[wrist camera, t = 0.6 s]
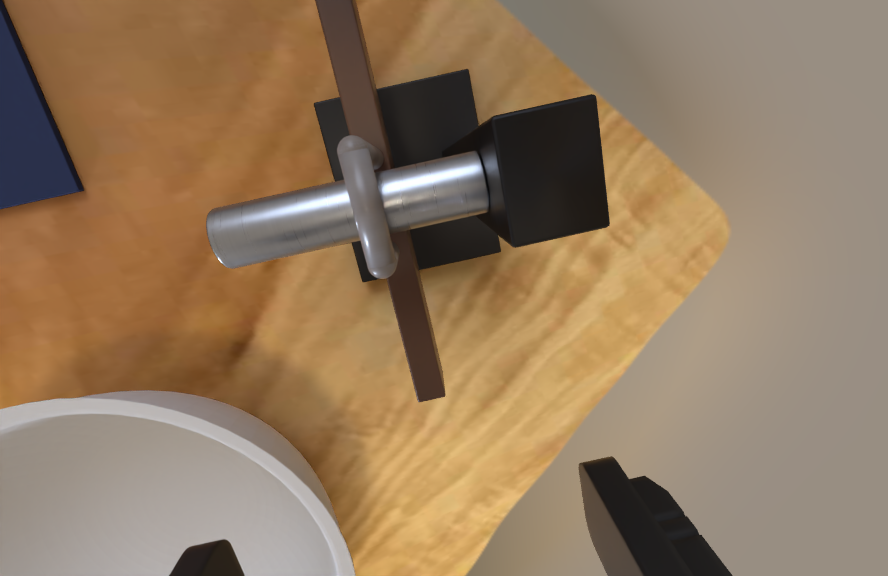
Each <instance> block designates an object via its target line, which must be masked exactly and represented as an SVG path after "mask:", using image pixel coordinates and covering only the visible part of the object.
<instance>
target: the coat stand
mask: <svg viewBox="0 0 888 576" xmlns="http://www.w3.org/2000/svg"><path fill="white" fill-rule="evenodd" d="M377 93H378V98H379V102H380V106H381V111H382V115H383V119H384V123H385V128H386V132H387V136H388V140H389V145H390V149H391V153H392V157H393V162H394V166H395V169H390V170H386V171H381V172H376V173H375V176H376V180H377V185H378V189H379V193H380V197H381V201H382V205H383V209H384V213H385V217H386V221H387V225H388V229H389V233H390V234H392V233H397V232H401V231H406V230H410V234H411V238H412V243H413V247H414V251H415V256H416V260H417V264H418V268H419V270H422V269H426V268H431V267H435V266H440V265H444V264H449V263H454V262H458V261H463V260H467V259H472V258H476V257H481V256H485V255H490V254H494V253H499V252H501V248H500V243H499V237H498V235H499V236H500V237H501V238H502V239H504V240H505V241H506V242H507V243H509V244H510V245H511V246H512V247H515V248H516V247H521V246H525V245H530V244H534V243H539V242H544V241H548V240H553V239H557V238H562V237H566V236H571V235H575V234H580V233H584V232H589V231H593V230H598V229H602V228H606V227H608V226H609V224H610V222H609V212H608V203H607V193H606V184H605V175H604V165H603V156H602V146H601V137H600V128H599V118H598V109H597V99H596V96H595V95H592V94H591V95H586V96H582V97H577V98H573V99H568V100H564V101H559V102H555V103H550V104H546V105H541V106H537V107H532V108H528V109H523V110H519V111H514V112H509V113H505V114H500V115H496V116H493V117H492V118H490V119H489V120H487V121H486V122H484V123H483V124H481V125H480V126H478V120H477V114H476V109H475V103H474V98H473V92H472V86H471V81H470V75H469V70H468V69H465V70H461V71H456V72H452V73H447V74H443V75H438V76H433V77H429V78H424V79H420V80H415V81H411V82H406V83H402V84H397V85H393V86H388V87H384V88H379V89H377ZM314 107H315V111H316V114H317V118H318V121H319V125H320V129H321V132H322V136H323V140H324V143H325V147H326V151H327V154H328V158H329V162H330V165H331V169H332V172H333V176H334V180H335V182H331V183H327V184H322V185H318V186H313V187H309V188H304V189H300V190H295V191H291V192H286V193H282V194H277V195H273V196H268V197H264V198H259V199H254V200H250V201H245V202H241V203H236V204H232V205H227V206H223V207H218V208H214V209H212V210H211V211H210V212H209V213H208V216H207V221H206V228H207V234H208V239H209V242H210V245H211V247H212V249H213V252H214V253H215V255H216V257H217V258H218V260H219V261H220V262H221V263H222V264H223V265H224V266H226V267H228V268H232V269H233V268H238V267H243V266H247V265H252V264H257V263H261V262H266V261H270V260H275V259H279V258H284V257H288V256H293V255H297V254H302V253H306V252H311V251H315V250H320V249H324V248H329V247H333V246H338V245H342V244H347V243H351V242H352V245H353V249H354V253H355V256H356V260H357V264H358V267H359V271H360V275H361V278H362V282H368V281H372V280H377V279H380V278H376V277H374V276H373V275H372V274H371V273H370V272H369V270H368V267H367V263H366V259H365V256H364V252H363V248H362V244H361V241H360V237H359V233H358V229H357V226H356V222H355V218H354V214H353V211H352V207H351V203H350V199H349V195H348V192H347V188H346V184H345V180H344V177H343V173H342V169H341V165H340V162H339V158H338V154H337V148H338V144H339V142H340V141H341V140H342V139H343V138H344V137H346V136H350V134H349V130H348V126H347V122H346V118H345V114H344V111H343V107H342V103H341V99H340V97H339V98H334V99H330V100H325V101H321V102H316V103H314Z"/></svg>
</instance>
